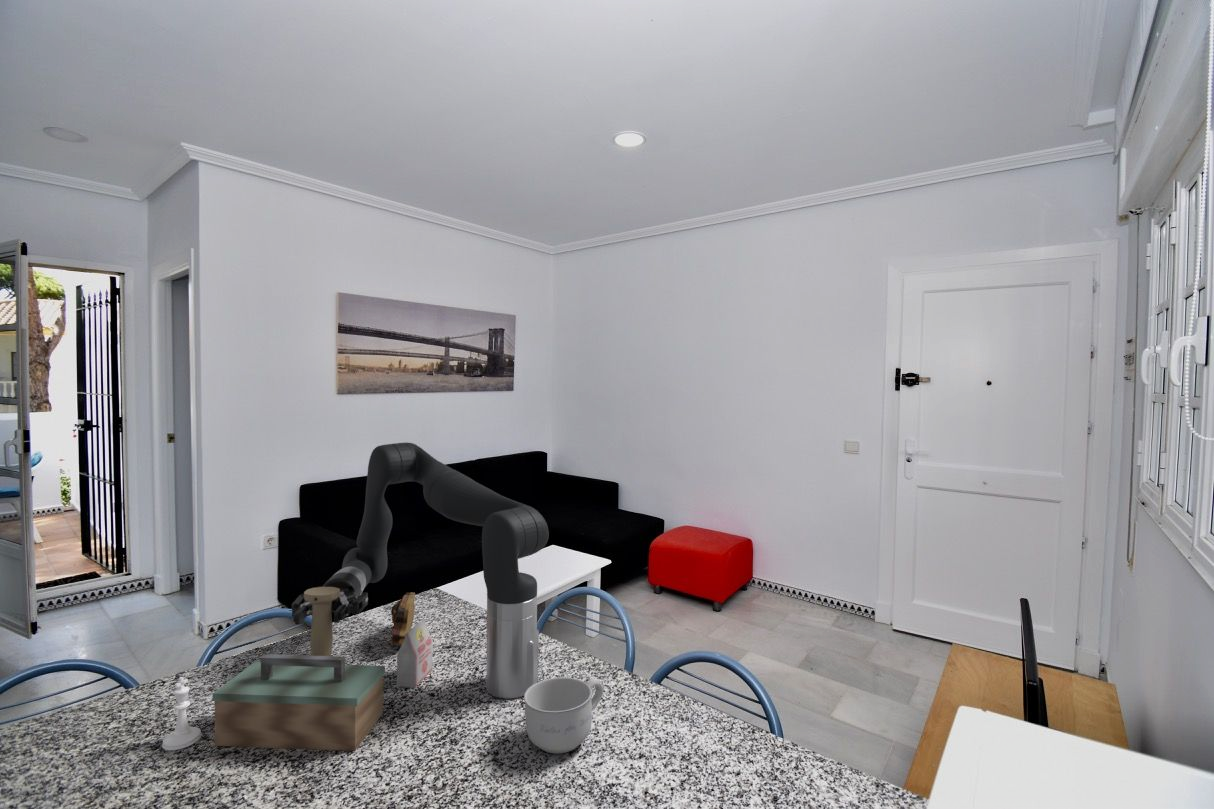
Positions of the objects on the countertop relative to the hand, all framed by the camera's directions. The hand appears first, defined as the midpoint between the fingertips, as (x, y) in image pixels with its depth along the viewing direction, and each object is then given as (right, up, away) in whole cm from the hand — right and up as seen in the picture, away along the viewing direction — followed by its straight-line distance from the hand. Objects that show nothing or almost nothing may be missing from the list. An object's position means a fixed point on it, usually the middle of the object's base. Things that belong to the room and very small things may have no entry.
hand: (316, 618), depth 110 cm
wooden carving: (+11, -11, +14) cm, 21 cm away
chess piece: (-10, -11, -21) cm, 26 cm away
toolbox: (+7, -11, -14) cm, 19 cm away
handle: (-1, -11, +3) cm, 11 cm away
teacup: (+50, -12, -19) cm, 55 cm away
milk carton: (+19, -11, -1) cm, 22 cm away
